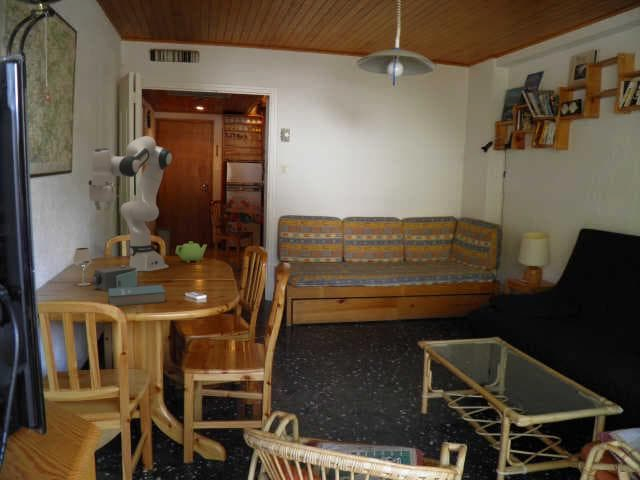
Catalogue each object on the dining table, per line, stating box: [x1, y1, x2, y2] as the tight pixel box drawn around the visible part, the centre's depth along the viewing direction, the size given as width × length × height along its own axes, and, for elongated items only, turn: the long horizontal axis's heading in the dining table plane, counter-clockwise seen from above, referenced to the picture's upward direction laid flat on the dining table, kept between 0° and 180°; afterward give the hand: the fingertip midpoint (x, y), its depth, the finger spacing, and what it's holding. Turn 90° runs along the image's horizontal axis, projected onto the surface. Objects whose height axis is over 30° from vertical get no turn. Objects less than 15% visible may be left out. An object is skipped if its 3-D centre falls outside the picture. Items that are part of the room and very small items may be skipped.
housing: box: [92, 264, 136, 292], centre depth 256 cm, size 18×10×10 cm, turn 139°
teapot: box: [174, 241, 208, 264], centre depth 331 cm, size 20×13×13 cm
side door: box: [116, 270, 139, 288], centre depth 252 cm, size 15×2×8 cm, turn 164°
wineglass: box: [73, 247, 93, 287], centre depth 261 cm, size 8×8×18 cm
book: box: [107, 284, 167, 307], centre depth 232 cm, size 23×16×5 cm
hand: (102, 210), depth 256 cm, fingers open, 8 cm apart
